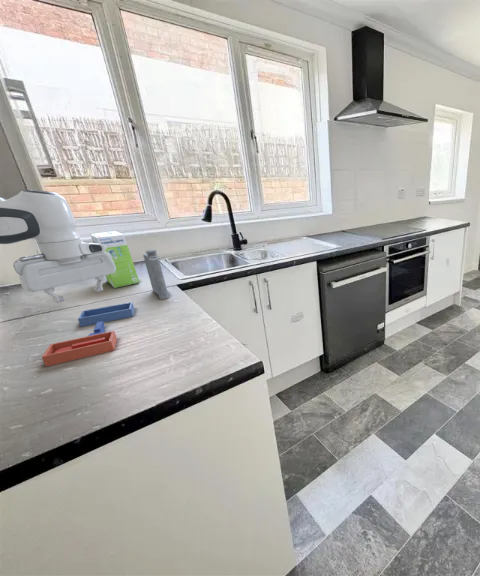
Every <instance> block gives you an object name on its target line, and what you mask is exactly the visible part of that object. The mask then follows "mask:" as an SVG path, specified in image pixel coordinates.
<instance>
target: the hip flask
mask: <svg viewBox="0 0 480 576" xmlns="http://www.w3.org/2000/svg"><path fill="white" fill-rule="evenodd" d="M142 257H143V260H144V264H145V267H146V271H147V274H148V277H149V280H150V285H151V288H152V292H153V293H155V294H156V295H158V297H159V300H167V299H170V296H169V291H168V287H167V284H166V281H165V277H164V273H163V270H162V269H163V268H162V265H161V262H160V258H159V256H158V254H157V249H148V250H145V253H143V254H142Z"/></svg>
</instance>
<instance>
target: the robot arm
mask: <svg viewBox="0 0 480 576" xmlns="http://www.w3.org/2000/svg"><path fill="white" fill-rule="evenodd" d="M76 225H77V223H76V219H75V217H74V214H73V211H72V209H71V207H70V204H69V203H68V202H67V200H66V198H65V197H64V196H62V195H61V194H59V193H57V192H54V191H47V190H39V189H25V190H23V189H22V190H20V192H18V193H17V194H15V195H14V196H12V197H10V198H7V199H6V198H4V197H2V196H0V245H12V244H13V245H14V244H17V243H20V242H22V241H26V240H35V242H36V245H37V248H38V250H39V252H40V253H37V254H33V255H29V256H20V257H19V258H18V259H16V260H15V261H13V264H12V265H13V266H12V267H13V268H14V271H15V273H16V274H18V278H19V282H20V285H21V288H22V289H23V290H24V291H26V292H31V293H37V292H41V291H44V292H43V293H46V295H48V296H50V297H52V299H53V302H54V303H56V304H59V303H62V302H65V299H64V296H63V295H61V294H56V293H55V291H56V290H55V288H58V287H62V286H65V285H66V286H67V285H71V284H74V283H78V282H82V281H87V280H91V279H95V280H96V283H95V285H93V286H92V288H93V289H94V292H96V293H99V292H102V291H104V287H103V285H104V282H105V275H108V274H112V273H114V272H115V271H116V267H115V264H114V262H113V259H112V257H111V256H110V254H109V253H107V252H104V251H106V246H105V245H103V244H98V243H93V242H91V241H83V239H82V236H81V235H80V234H79V232H78V230H77V226H76Z"/></svg>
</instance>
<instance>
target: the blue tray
mask: <svg viewBox="0 0 480 576" xmlns="http://www.w3.org/2000/svg"><path fill="white" fill-rule="evenodd" d="M134 314H135V306H134V303H133V301H131V302H126V303H120V304H119V303H118V304H114V305H109V306H103V307H102V306H101V307H97V308H92V309H86V310H82V311H81V313H80V314H79V316H78V318H77V320H78V323H79V325H80V327H81V328H82V327H88V326H93V325H96V324H97V322H101V321H103V323H107V322H112V321H116V320H122V319H128V318H132V317H134Z"/></svg>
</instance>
